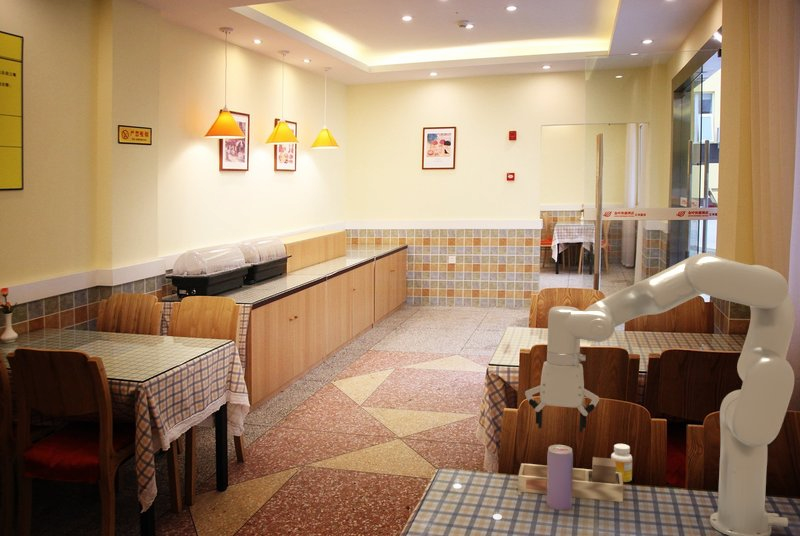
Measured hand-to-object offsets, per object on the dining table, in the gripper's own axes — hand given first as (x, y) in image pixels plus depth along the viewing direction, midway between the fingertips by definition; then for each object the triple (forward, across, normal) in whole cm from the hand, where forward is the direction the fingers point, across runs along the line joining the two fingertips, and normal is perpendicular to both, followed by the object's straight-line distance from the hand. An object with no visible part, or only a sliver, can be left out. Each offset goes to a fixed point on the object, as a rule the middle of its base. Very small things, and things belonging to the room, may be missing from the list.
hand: (560, 428), depth 170 cm
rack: (+20, -3, -10) cm, 22 cm away
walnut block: (+19, -11, -10) cm, 24 cm away
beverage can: (+20, 0, 0) cm, 20 cm away
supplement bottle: (+20, -16, -21) cm, 33 cm away
